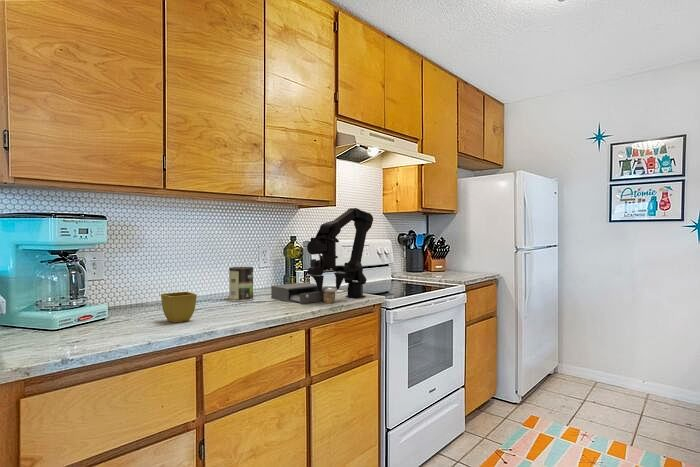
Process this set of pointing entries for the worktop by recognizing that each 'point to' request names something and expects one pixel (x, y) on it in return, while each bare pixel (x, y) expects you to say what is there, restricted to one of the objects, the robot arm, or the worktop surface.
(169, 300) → the flower pot
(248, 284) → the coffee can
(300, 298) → the tray
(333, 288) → the disc
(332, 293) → the oak stand
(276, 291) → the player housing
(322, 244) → the robot arm
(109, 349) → the worktop surface
